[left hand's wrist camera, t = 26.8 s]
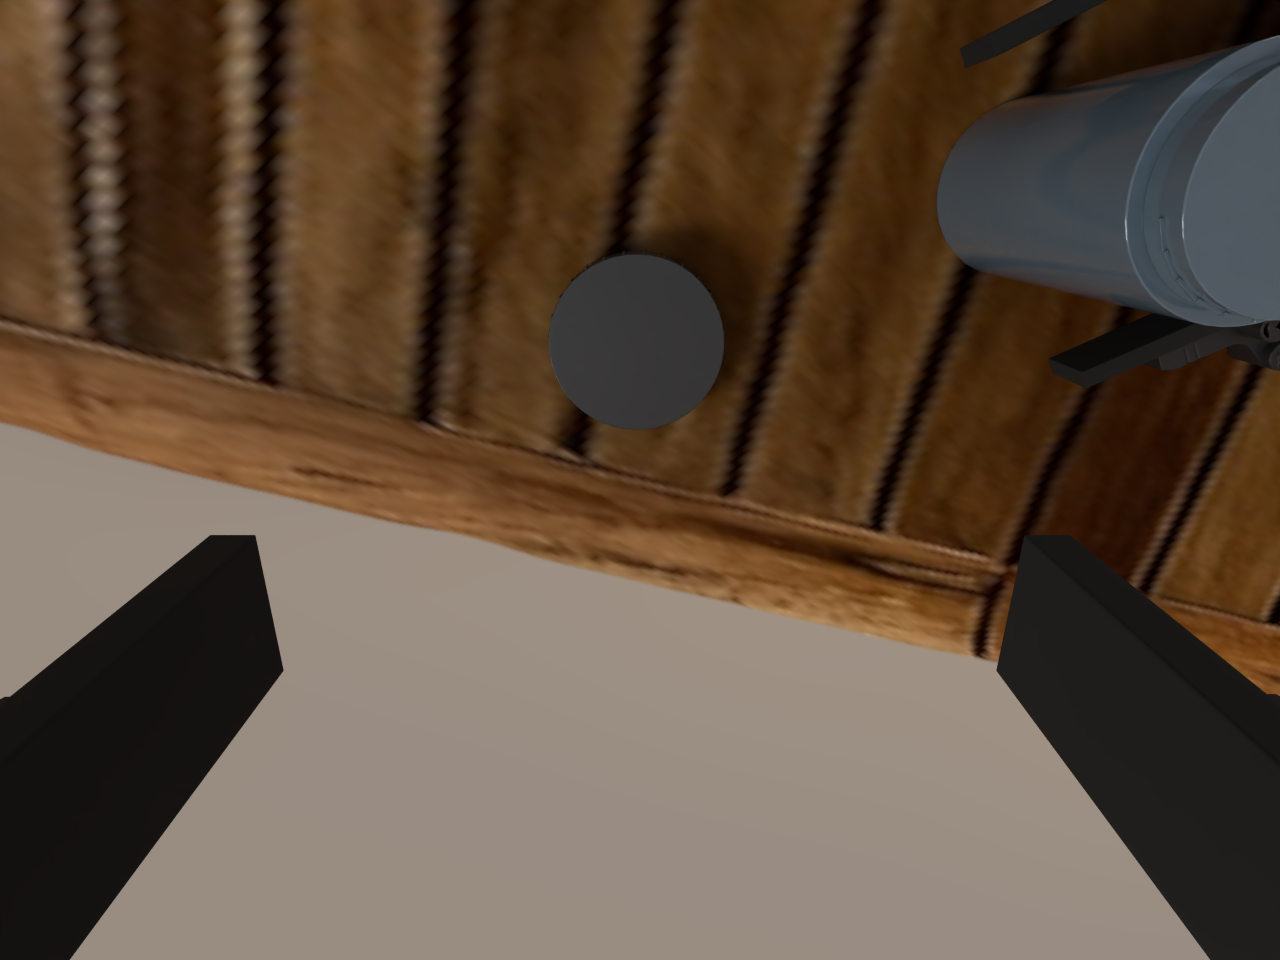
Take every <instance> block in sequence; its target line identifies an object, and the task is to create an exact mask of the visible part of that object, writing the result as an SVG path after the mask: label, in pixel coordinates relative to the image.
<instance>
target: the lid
mask: <svg viewBox="0 0 1280 960" xmlns="http://www.w3.org/2000/svg"><path fill="white" fill-rule="evenodd" d="M699 279H700V278H699V276H698V275H697V274H693V273H692V272H691V271H690V270H689V269H688V268H686V267H685V266H684V265H683V263H682V262H680V263H679V262H677V261H675V260H673V259H671V258H669V257H666V256H665V254H663V253H662V255H660V254H656V253H652V252H645V250H643V251H629V252H625V250H623V252H622V253H617V254H613V255H610V256H607V257H606V255H605V256H603V258H602V259H600V260H598V261H596V262H594V263H593V264H591V265H590V266H589V265H587V266H586V267H585V268H584V270H583V271H582V272H581V273H580V274H579V275H577V276H576V277H575V279H574V278H572V279H571V281H570V285H569V286H568V287H567V289H566V290H565V291H564V293H563V294H561V295H560V297H559V298H558V299H559V301H558V303H557V306H556V308H555V310H554V313H553V314H552V316H551V318H552V320H551V324H550V330H549V335H548V338H549V354H550V355H549V356H550V359H551V364H552V368H553V370H554V373H555V376H556V378H557V380H558V382H559V384H560V386H561V388H562V389H563V390H564V392H565V393H566V395H567V396H568V397H569V398H570V400H571V401H572V402H573V403H574V404H575V405H576V406H577V407H578V408H580V409H581V410H582V411H583V412H584V413H586V414H588V415H589V416H591V417H592V418H594V419H596V420H598V421H600V422H602V423H604V424H607V425H610V426H613V427H618V428H623V429H634V430H639V429H650V428H655V427H660V426H663V425H666V424H669V423H671V422H673V421H675V420H678V419H679V418H681V417H683V416H684V415H686V414H687V413H689V412H690V411H691V410H692V409H694V408H695V407H696V406H697V405H698V404H699V403H700V402H701V401H702V400H703V399H704V398H705V396H706V395H707V394H708V392H709V391H710V389H711V388H712V386H713V384H714V382H715V380H716V378H717V376H718V373H719V371H720V368H721V364H722V360H723V354H724V351H725V350H724V332H725V330H724V329H723V323H722V320H721V316H720V313H721V312H720V310H719V308H718V307H717V306H716V304H715V301H714V300H713V298H712V296H711V295H712V293H711V291H710V290H709V289H708V290H707V289H706V287H705V286H704V285H703V283H702V282H701V281H700V280H699Z"/></svg>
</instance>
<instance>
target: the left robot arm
mask: <svg viewBox="0 0 1280 960" xmlns="http://www.w3.org/2000/svg"><path fill="white" fill-rule="evenodd" d="M282 672H283V666H282V661H281V656H280V651H279V646H278V642H277V637H276V632H275V627H274V623H273V618H272V613H271V608H270V603H269V599H268V594H267V589H266V585H265V579H264V575H263V570H262V565H261V560H260V556H259V551H258V546H257V541H256V537H255V535H210V536H209V537H208V538H206V539H205V540H204V541H203V542H201V543H200V544H199V545H198V546H196V547H195V548H194V549H193V550H192V551H190V552H189V553H188V554H187V555H185V556H184V557H183V558H182V559H180V560H179V561H178V562H177V563H175V564H174V565H173V566H172V567H170V568H169V569H168V570H167V571H165V572H164V573H163V574H162V575H160V576H159V577H158V578H157V579H156V580H154V581H153V582H152V583H151V584H149V585H148V586H147V587H146V588H144V589H143V590H142V591H141V592H139V593H138V594H137V595H136V596H134V597H133V598H132V599H131V600H130V601H128V602H127V603H126V604H124V605H123V606H122V607H121V608H120V609H118V610H117V611H116V612H115V613H113V614H112V615H111V616H110V617H108V618H107V619H106V620H105V621H103V622H102V623H101V624H100V625H99V626H97V627H96V628H95V629H93V630H92V631H91V632H90V633H89V634H87V635H86V636H85V637H84V638H82V639H81V640H80V641H79V642H77V643H76V644H75V645H74V646H72V647H71V648H70V649H69V650H67V651H66V652H65V653H64V654H63V655H61V656H60V657H59V658H58V659H56V660H55V661H54V662H53V663H51V664H50V665H49V666H48V667H46V668H45V669H44V670H43V671H41V672H40V673H39V674H38V675H36V676H35V677H34V678H33V679H32V680H30V681H29V682H28V683H27V684H25V685H24V686H23V687H22V688H20V689H19V690H18V691H17V692H15V693H14V694H13V695H12V696H11V697H4V698H2V699H0V960H70V959H71V957H72V956H73V955H74V953H75V952H76V951H77V949H78V948H79V946H80V945H81V944H82V942H83V941H84V940H85V938H86V937H87V936H88V934H89V933H90V932H91V930H92V929H93V928H94V926H95V925H96V923H97V922H98V921H99V919H100V918H101V917H102V915H103V914H104V913H105V911H106V910H107V909H108V907H109V906H110V904H111V903H112V902H113V900H114V899H115V898H116V896H117V895H118V894H119V892H120V891H121V890H122V888H123V887H124V886H125V884H126V883H127V882H128V880H129V879H130V877H131V876H132V875H133V873H134V872H135V871H136V869H137V868H138V867H139V865H140V864H141V863H142V861H143V860H144V859H145V857H146V856H147V855H148V853H149V852H150V850H151V849H152V848H153V846H154V845H155V844H156V842H157V841H158V840H159V838H160V837H161V836H162V834H163V833H164V832H165V830H166V829H167V827H168V826H169V825H170V823H171V822H172V821H173V819H174V818H175V817H176V815H177V814H178V813H179V811H180V810H181V809H182V807H183V806H184V804H185V803H186V802H187V800H188V799H189V798H190V796H191V795H192V794H193V792H194V791H195V790H196V788H197V787H198V786H199V784H200V783H201V782H202V780H203V779H204V777H205V776H206V775H207V773H208V772H209V771H210V769H211V768H212V767H213V765H214V764H215V763H216V761H217V760H218V759H219V757H220V756H221V754H222V753H223V752H224V750H225V749H226V748H227V746H228V745H229V744H230V742H231V741H232V740H233V738H234V737H235V736H236V734H237V733H238V731H239V730H240V729H241V727H242V726H243V725H244V723H245V722H246V721H247V719H248V718H249V717H250V715H251V714H252V713H253V711H254V710H255V708H256V707H257V706H258V704H259V703H260V702H261V700H262V699H263V698H264V696H265V695H266V694H267V692H268V691H269V690H270V688H271V687H272V685H273V684H274V683H275V681H276V680H277V679H278V677H279V676H280V675H281V673H282ZM997 672H998V673H999V675H1000V676H1001V677H1002V679H1003V680H1004V681H1005V683H1006V684H1007V685H1008V687H1009V688H1010V690H1011V691H1012V692H1013V694H1014V695H1015V696H1016V698H1017V699H1018V700H1019V702H1020V703H1021V704H1022V706H1023V707H1024V708H1025V710H1026V711H1027V713H1028V714H1029V715H1030V717H1031V718H1032V719H1033V721H1034V722H1035V723H1036V725H1037V726H1038V727H1039V729H1040V730H1041V731H1042V733H1043V734H1044V736H1045V737H1046V738H1047V740H1048V741H1049V742H1050V744H1051V745H1052V746H1053V748H1054V749H1055V750H1056V752H1057V753H1058V754H1059V756H1060V757H1061V759H1062V760H1063V761H1064V763H1065V764H1066V765H1067V767H1068V768H1069V769H1070V771H1071V772H1072V773H1073V775H1074V776H1075V777H1076V779H1077V780H1078V782H1079V783H1080V784H1081V786H1082V787H1083V788H1084V790H1085V791H1086V792H1087V794H1088V795H1089V796H1090V798H1091V799H1092V800H1093V802H1094V803H1095V804H1096V806H1097V807H1098V809H1099V810H1100V811H1101V813H1102V814H1103V815H1104V817H1105V818H1106V819H1107V821H1108V822H1109V823H1110V825H1111V826H1112V827H1113V829H1114V830H1115V831H1116V833H1117V834H1118V836H1119V837H1120V838H1121V840H1122V841H1123V842H1124V844H1125V845H1126V846H1127V848H1128V849H1129V850H1130V852H1131V853H1132V854H1133V856H1134V857H1135V859H1136V860H1137V861H1138V863H1139V864H1140V865H1141V867H1142V868H1143V869H1144V871H1145V872H1146V873H1147V875H1148V876H1149V877H1150V879H1151V880H1152V881H1153V883H1154V884H1155V886H1156V887H1157V888H1158V890H1159V891H1160V892H1161V894H1162V895H1163V896H1164V898H1165V899H1166V900H1167V902H1168V903H1169V905H1170V906H1171V907H1172V909H1173V910H1174V911H1175V913H1176V914H1177V915H1178V917H1179V918H1180V919H1181V921H1182V922H1183V923H1184V925H1185V926H1186V928H1187V929H1188V930H1189V931H1190V933H1191V934H1192V936H1193V937H1194V938H1195V940H1196V941H1197V942H1198V944H1199V945H1200V946H1201V948H1202V949H1203V951H1204V952H1205V953H1206V955H1207V956H1208V957H1209V959H1210V960H1280V696H1278V695H1276V694H1266V693H1265V692H1263V691H1262V690H1261V689H1260V688H1258V687H1257V686H1256V685H1255V684H1253V683H1252V682H1251V681H1250V680H1248V679H1247V678H1246V677H1245V676H1244V675H1242V674H1241V673H1240V672H1239V671H1237V670H1236V669H1235V668H1234V667H1232V666H1231V665H1230V664H1229V663H1227V662H1226V661H1225V660H1224V659H1222V658H1221V657H1220V656H1219V655H1217V654H1216V653H1215V652H1214V651H1213V650H1211V649H1210V648H1209V647H1208V646H1206V645H1205V644H1204V643H1203V642H1201V641H1200V640H1199V639H1198V638H1196V637H1195V636H1194V635H1193V634H1191V633H1190V632H1189V631H1188V630H1187V629H1185V628H1184V627H1183V626H1182V625H1180V624H1179V623H1178V622H1177V621H1175V620H1174V619H1173V618H1172V617H1170V616H1169V615H1168V614H1167V613H1165V612H1164V611H1163V610H1162V609H1160V608H1159V607H1158V606H1157V605H1156V604H1154V603H1153V602H1152V601H1151V600H1149V599H1148V598H1147V597H1146V596H1144V595H1143V594H1142V593H1141V592H1139V591H1138V590H1137V589H1136V588H1134V587H1133V586H1132V585H1131V584H1129V583H1128V582H1127V581H1126V580H1125V579H1123V578H1122V577H1121V576H1120V575H1118V574H1117V573H1116V572H1115V571H1113V570H1112V569H1111V568H1110V567H1108V566H1107V565H1106V564H1105V563H1103V562H1102V561H1101V560H1100V559H1098V558H1097V557H1096V556H1095V555H1094V554H1092V553H1091V552H1090V551H1089V550H1087V549H1086V548H1085V547H1084V546H1082V545H1081V544H1080V543H1079V542H1077V541H1076V540H1075V539H1074V538H1072V537H1071V536H1070V535H1025V536H1024V541H1023V546H1022V551H1021V556H1020V560H1019V565H1018V570H1017V575H1016V579H1015V584H1014V589H1013V594H1012V599H1011V603H1010V608H1009V613H1008V618H1007V623H1006V627H1005V632H1004V637H1003V642H1002V646H1001V651H1000V656H999V661H998V666H997Z"/></svg>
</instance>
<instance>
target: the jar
mask: <svg viewBox="0 0 1280 960" xmlns="http://www.w3.org/2000/svg"><path fill="white" fill-rule="evenodd" d="M937 213H938V220H939V224H940V227H941V231H942V233H943V235H944V238H945V240H946V242H947V243H948V245H949V246H950V248H951V250H952V251H953V252H954V253H955V254H956V255H957V257H958V258H960V259H961V260H962V261H963V262H964V263H966V264H967V265H969V266H970V267H972V268H974V269H976V270H978V271H981V272H983V273H987V274H991V275H995V276H999V277H1003V278H1007V279H1011V280H1016V281H1020V282H1024V283H1028V284H1033V285H1037V286H1041V287H1045V288H1049V289H1054V290H1058V291H1062V292H1066V293H1070V294H1075V295H1079V296H1083V297H1087V298H1092V299H1096V300H1100V301H1104V302H1108V303H1113V304H1117V305H1121V306H1125V307H1130V308H1134V309H1138V310H1142V311H1146V312H1151V313H1155V314H1159V315H1163V316H1167V317H1172V318H1176V319H1180V320H1184V321H1189V322H1193V323H1197V324H1201V325H1206V326H1216V327H1238V326H1245V325H1251V324H1257V323H1260V322H1264V321H1272V320H1280V35H1277V36H1273V37H1269V38H1264V39H1260V40H1256V41H1252V42H1248V43H1244V44H1240V45H1236V46H1232V47H1228V48H1224V49H1219V50H1215V51H1211V52H1207V53H1203V54H1199V55H1195V56H1191V57H1187V58H1183V59H1178V60H1174V61H1170V62H1166V63H1162V64H1158V65H1154V66H1150V67H1146V68H1142V69H1137V70H1133V71H1129V72H1125V73H1121V74H1117V75H1113V76H1109V77H1105V78H1101V79H1097V80H1092V81H1088V82H1084V83H1080V84H1076V85H1072V86H1068V87H1064V88H1060V89H1056V90H1051V91H1047V92H1043V93H1039V94H1035V95H1031V96H1027V97H1023V98H1019V99H1015V100H1012V101H1009V102H1006V103H1004V104H1002V105H999V106H997V107H995V108H994V109H992V110H990V111H989V112H987V113H985V114H984V115H983V116H981V117H980V118H979V119H978V120H976V121H975V122H974V123H973V124H972V125H971V126H970V127H969V128H968V129H967V130H966V131H965V132H964V133H963V135H962V136H961V137H960V138H959V140H958V141H957V142H956V144H955V146H954V147H953V149H952V150H951V152H950V154H949V156H948V158H947V160H946V162H945V165H944V168H943V170H942V173H941V177H940V181H939V185H938V193H937Z"/></svg>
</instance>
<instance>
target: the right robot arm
mask: <svg viewBox="0 0 1280 960" xmlns="http://www.w3.org/2000/svg"><path fill="white" fill-rule="evenodd" d="M1104 1H1106V0H1053V1H1051V2H1049V3H1047V4H1045V5H1043V6H1042V7H1040V8H1038V9H1036V10H1034V11H1032V12H1030V13H1028V14H1026V15H1024V16H1022V17H1020V18H1018V19H1016V20H1014V21H1012V22H1010V23H1008V24H1006V25H1004V26H1003V27H1001V28H999V29H997V30H995V31H993V32H991V33H989V34H987V35H985V36H983V37H981V38H979V39H977V40H975V41H973V42H971V43H969V44H967V45H966V46H964V47H962V48H960V50H961V54H962V57H963V61H964V64H965V68H967V67H969V66H972V65H975V64H977V63H980V62H983V61H985V60H988V59H990V58H993V57H996V56H998V55H1000V54H1002V53H1004V52H1006V51H1008V50H1010V49H1012V48H1014V47H1016V46H1018V45H1020V44H1021V43H1023V42H1025V41H1027V40H1029V39H1031V38H1033V37H1035V36H1037V35H1039V34H1041V33H1043V32H1045V31H1047V30H1049V29H1051V28H1053V27H1055V26H1057V25H1059V24H1061V23H1063V22H1065V21H1067V20H1069V19H1071V18H1073V17H1075V16H1077V15H1079V14H1081V13H1083V12H1085V11H1087V10H1088V9H1090V8H1092V7H1094V6H1096V5H1098V4H1100V3H1102V2H1104ZM1276 1H1279V2H1280V0H1276ZM1226 347H1227V352H1228V354H1229V356H1231V357H1232V358H1234V359H1238V360H1241V361H1245V362H1249V363H1252V364H1256V365H1259V366H1263V367H1266V368H1270V369H1273V370H1279V371H1280V320H1272V321H1264V322H1260V323H1257V324H1251V325H1245V326H1238V327H1216V326H1206V325H1201V324H1197V323H1193V322H1189V321H1184V320H1180V319H1176V318H1172V317H1167V316H1163V315H1159V314H1155V313H1152V314H1150V315H1147V316H1145V317H1143V318H1140V319H1138V320H1136V321H1134V322H1131V323H1129V324H1127V325H1124V326H1122V327H1120V328H1118V329H1115V330H1113V331H1111V332H1109V333H1106V334H1104V335H1102V336H1099V337H1097V338H1095V339H1093V340H1090V341H1088V342H1086V343H1083V344H1081V345H1079V346H1077V347H1074V348H1072V349H1070V350H1067V351H1065V352H1063V353H1061V354H1058V355H1056V356H1054V357H1051V358H1049V361H1050V364H1051V368H1052V371H1053V374H1056V375H1058V376H1060V377H1062V378H1065V379H1067V380H1069V381H1072V382H1074V383H1076V384H1078V385H1081V386H1083V387H1085V388H1088V387H1090V386H1092V385H1095V384H1097V383H1099V382H1102V381H1104V380H1106V379H1109V378H1111V377H1113V376H1116V375H1118V374H1120V373H1123V372H1125V371H1127V370H1130V369H1132V368H1134V367H1137V366H1139V365H1141V364H1145V365H1148V366H1151V367H1154V368H1157V369H1160V370H1172V369H1177V368H1179V367H1181V366H1184V365H1186V364H1187V363H1191V362H1193V361H1195V360H1197V359H1200V358H1202V357H1205V356H1207V355H1210V354H1212V353H1214V352H1217V351H1219V350H1221V349H1224V348H1226Z"/></svg>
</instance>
